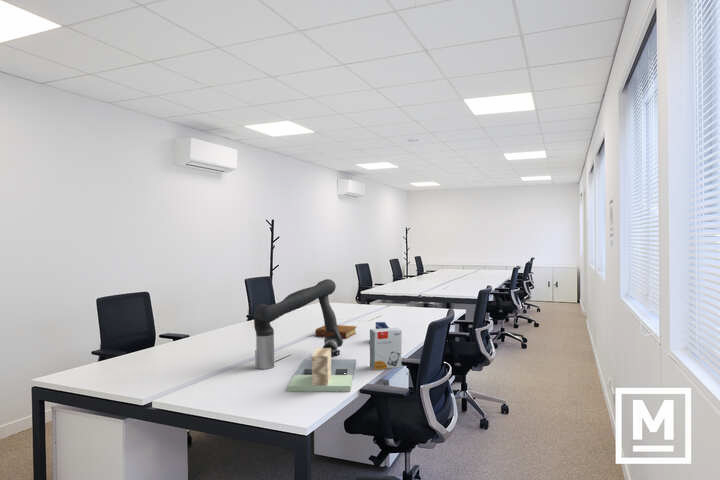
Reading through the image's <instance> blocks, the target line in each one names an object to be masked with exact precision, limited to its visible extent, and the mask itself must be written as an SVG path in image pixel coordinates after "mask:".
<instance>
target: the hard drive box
mask: <svg viewBox="0 0 720 480" xmlns="http://www.w3.org/2000/svg"><path fill="white" fill-rule="evenodd" d="M402 333H403V332H402V329H400V328H398V327H389V328H382V329H376V328H371V329H369V367H370V368H371V367H372V368H373V369H374V371H375V370H376V371H377V370H378V369H382V370H389V369H401V368H402V350H403V349H402V348H403V347H402V344H403V343H402V340H403V339H402V335H403V334H402ZM372 368H371V369H372Z"/></svg>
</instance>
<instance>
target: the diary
mask: <svg viewBox="0 0 720 480" xmlns="http://www.w3.org/2000/svg"><path fill="white" fill-rule="evenodd" d="M337 327H338V331H339V333H340V335H341V337H342V340H347V339H349V338H351V337H353V336H354V335H356V333H357V332H356V329H357V326H355V325H343V324H342V325H341V324H340V325H339V324H337ZM332 335H335V333H334V332H327V331H326V329H325V324H324V325H322V326H320V327H317V328H316V329H315V338H316V337H317V338H326V337H327V336H332Z"/></svg>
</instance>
